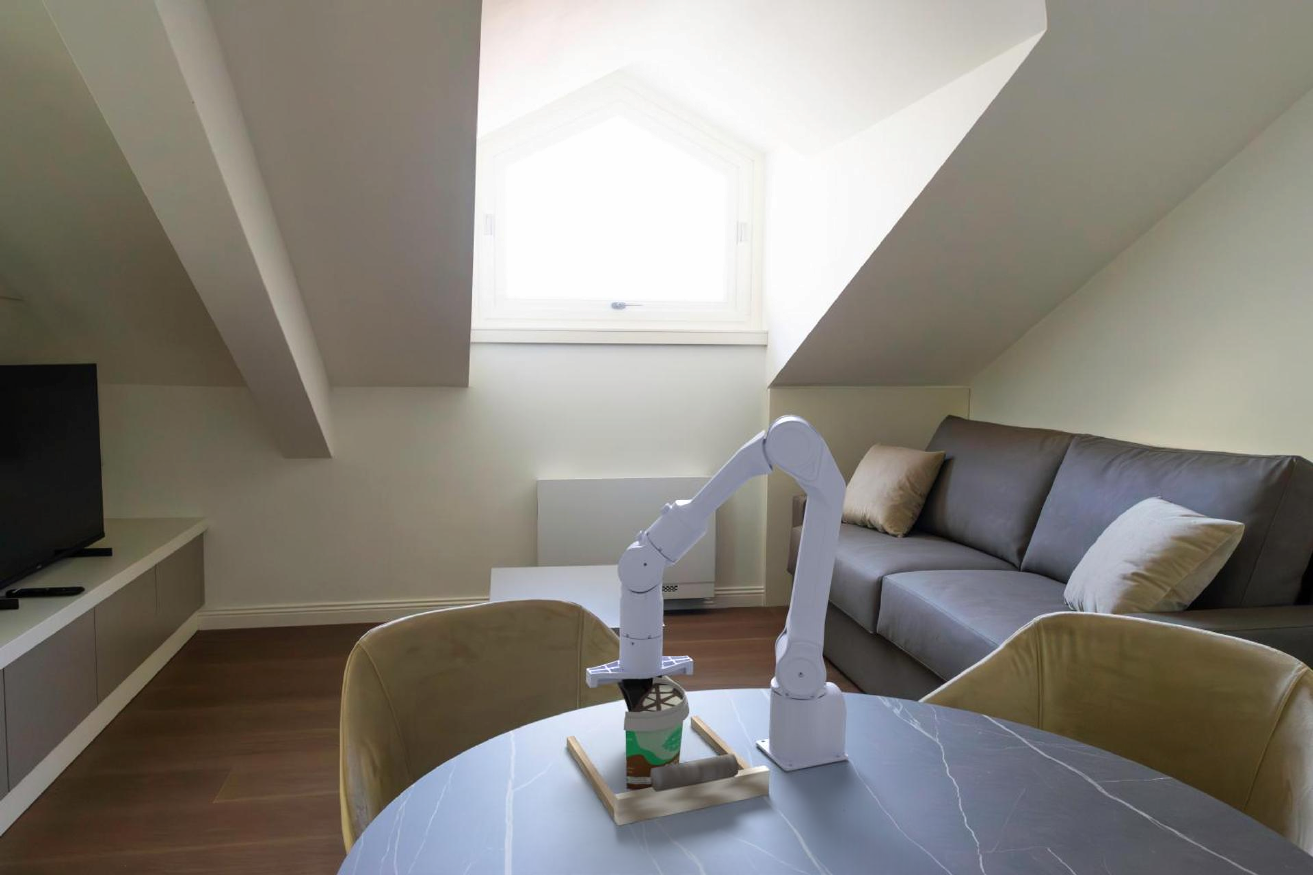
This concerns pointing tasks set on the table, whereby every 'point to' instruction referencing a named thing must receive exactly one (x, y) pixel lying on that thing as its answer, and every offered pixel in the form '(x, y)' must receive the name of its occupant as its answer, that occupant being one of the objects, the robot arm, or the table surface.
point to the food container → (654, 731)
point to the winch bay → (681, 782)
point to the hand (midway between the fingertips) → (639, 730)
